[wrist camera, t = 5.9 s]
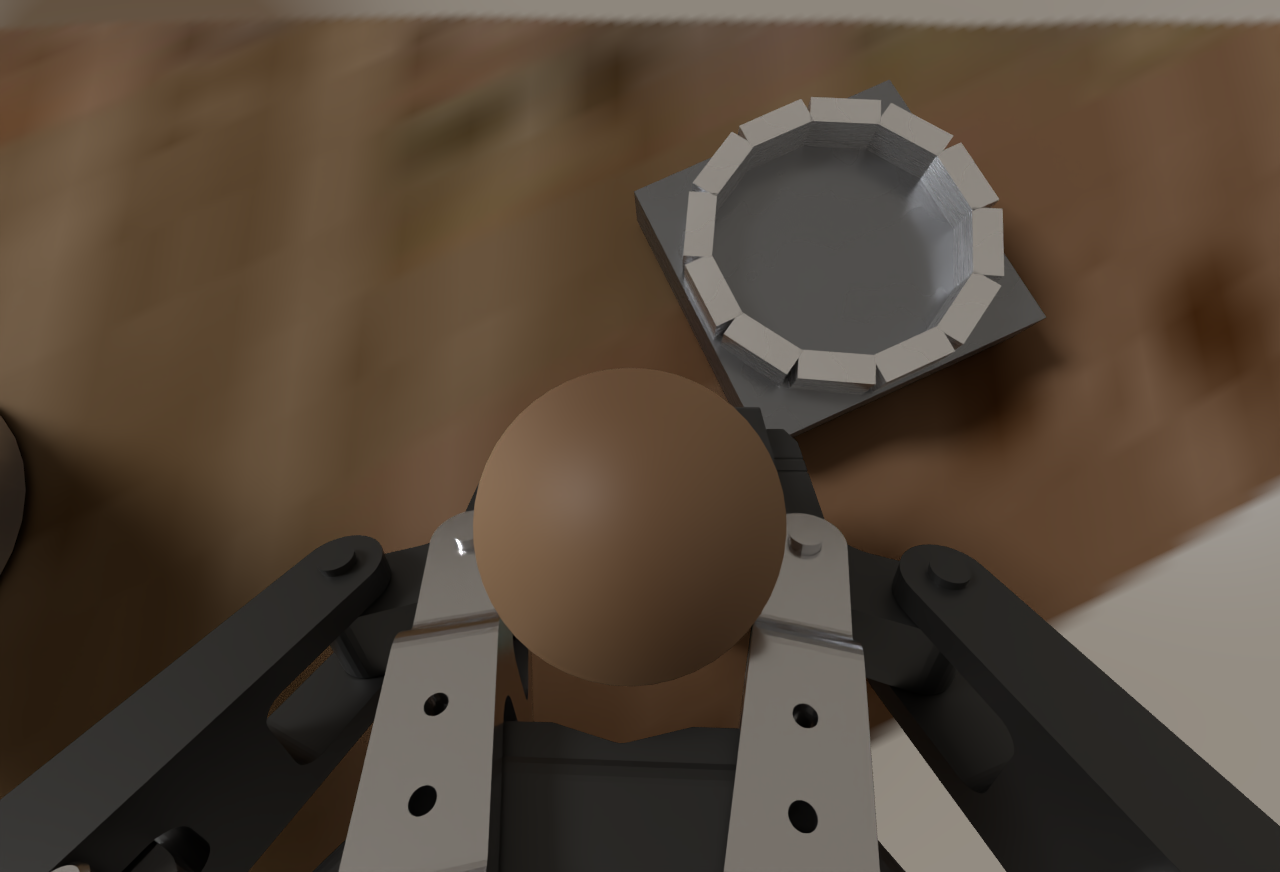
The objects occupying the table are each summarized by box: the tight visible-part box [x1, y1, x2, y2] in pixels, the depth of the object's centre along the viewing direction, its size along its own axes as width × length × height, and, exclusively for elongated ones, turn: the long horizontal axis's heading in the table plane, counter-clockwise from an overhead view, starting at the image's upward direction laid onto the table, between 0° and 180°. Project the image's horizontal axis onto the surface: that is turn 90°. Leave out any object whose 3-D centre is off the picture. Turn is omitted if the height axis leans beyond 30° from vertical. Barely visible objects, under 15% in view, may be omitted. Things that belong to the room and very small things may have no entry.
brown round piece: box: [473, 368, 786, 686], centre depth 11 cm, size 6×6×10 cm
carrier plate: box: [634, 80, 1046, 438], centre depth 16 cm, size 9×9×2 cm
